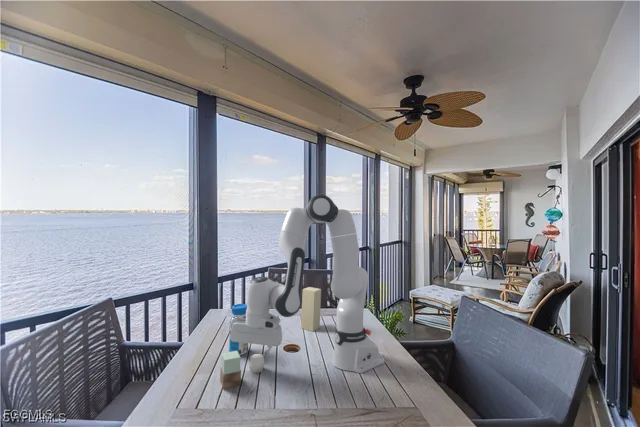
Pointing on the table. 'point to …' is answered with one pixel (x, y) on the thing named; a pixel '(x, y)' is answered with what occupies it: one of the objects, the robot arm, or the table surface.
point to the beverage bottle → (237, 311)
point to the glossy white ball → (256, 363)
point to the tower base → (230, 379)
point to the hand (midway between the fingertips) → (255, 354)
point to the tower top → (230, 362)
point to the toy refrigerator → (311, 308)
